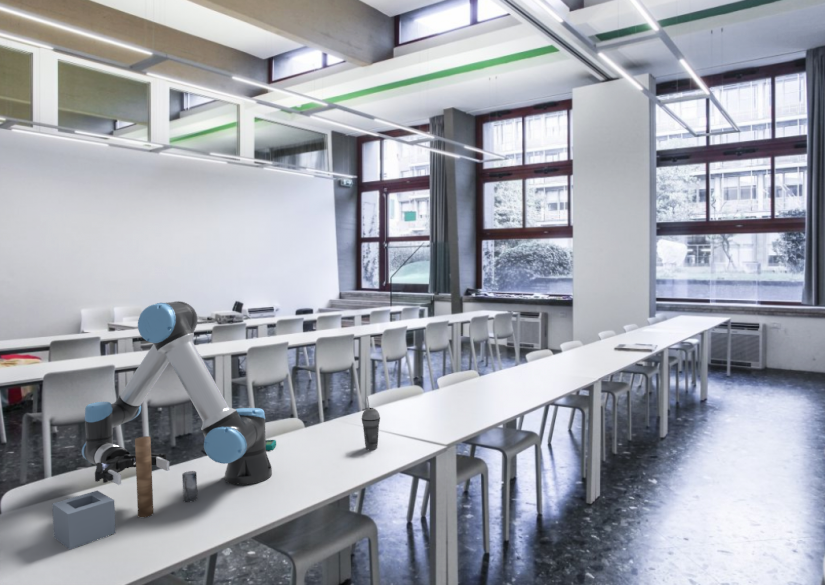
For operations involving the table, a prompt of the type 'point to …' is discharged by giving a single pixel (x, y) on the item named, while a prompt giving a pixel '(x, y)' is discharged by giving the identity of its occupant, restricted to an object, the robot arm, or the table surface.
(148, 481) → the long walnut pin
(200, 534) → the table surface
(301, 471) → the table surface
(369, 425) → the beverage cup
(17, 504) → the table surface
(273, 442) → the digital multimeter
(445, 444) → the table surface
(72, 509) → the collar block
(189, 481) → the short steel pin
